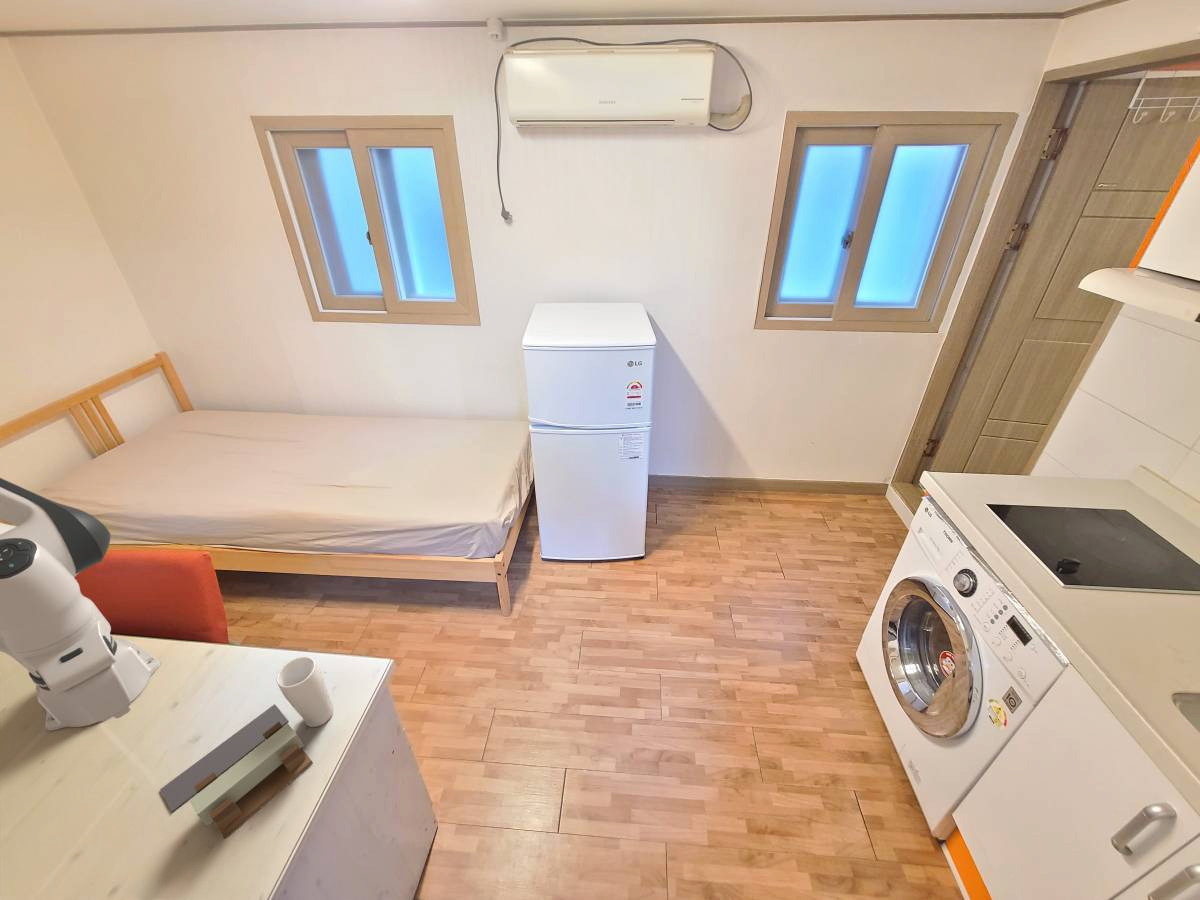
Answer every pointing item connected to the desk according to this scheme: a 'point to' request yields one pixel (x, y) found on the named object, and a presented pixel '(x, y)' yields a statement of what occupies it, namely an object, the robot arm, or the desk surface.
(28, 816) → the desk surface
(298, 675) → the drinking glass
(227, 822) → the rack
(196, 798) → the clay strip
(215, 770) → the pad
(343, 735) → the desk surface
